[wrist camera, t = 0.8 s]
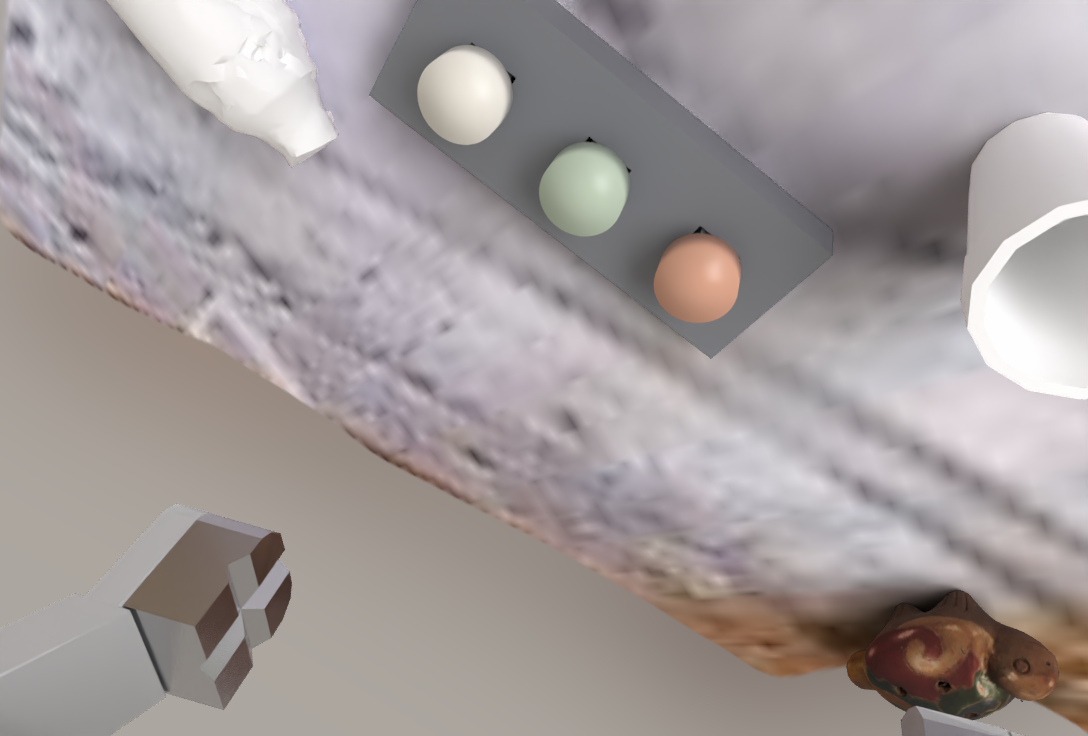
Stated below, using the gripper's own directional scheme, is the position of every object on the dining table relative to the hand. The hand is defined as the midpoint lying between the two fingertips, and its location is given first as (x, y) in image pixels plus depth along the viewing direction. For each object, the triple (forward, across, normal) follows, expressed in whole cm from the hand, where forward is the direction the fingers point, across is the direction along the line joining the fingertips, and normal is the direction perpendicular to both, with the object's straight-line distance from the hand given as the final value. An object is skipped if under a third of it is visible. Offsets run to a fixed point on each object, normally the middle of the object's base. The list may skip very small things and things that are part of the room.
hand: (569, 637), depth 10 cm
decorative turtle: (+39, -23, +42) cm, 62 cm away
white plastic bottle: (+39, +30, +2) cm, 49 cm away
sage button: (+37, +7, +9) cm, 39 cm away
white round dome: (+37, +14, +5) cm, 40 cm away
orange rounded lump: (+37, 0, +13) cm, 39 cm away
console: (+39, +7, +9) cm, 40 cm away
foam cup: (+38, -16, +6) cm, 42 cm away
